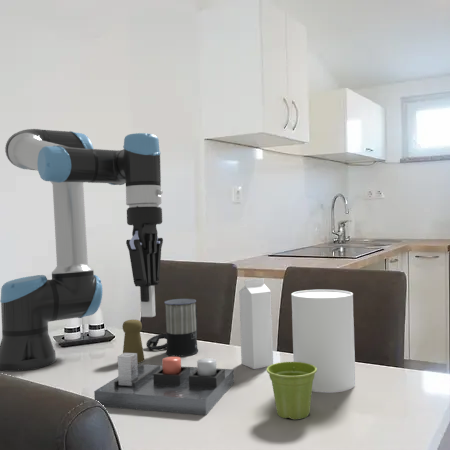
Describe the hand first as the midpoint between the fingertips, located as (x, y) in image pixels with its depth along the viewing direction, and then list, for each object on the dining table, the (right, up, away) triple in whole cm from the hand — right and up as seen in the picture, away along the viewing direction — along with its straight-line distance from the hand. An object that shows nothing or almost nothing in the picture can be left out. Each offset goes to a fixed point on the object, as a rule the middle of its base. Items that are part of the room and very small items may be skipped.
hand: (148, 316), depth 108 cm
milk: (+25, -16, +21) cm, 36 cm away
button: (+5, -12, +1) cm, 13 cm away
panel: (+4, -17, +1) cm, 17 cm away
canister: (+39, -16, +5) cm, 42 cm away
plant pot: (+29, -16, -13) cm, 36 cm away
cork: (-8, -17, +29) cm, 35 cm away
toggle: (-4, -14, -2) cm, 15 cm away
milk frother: (+1, -17, +38) cm, 42 cm away
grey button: (+13, -12, -2) cm, 18 cm away
